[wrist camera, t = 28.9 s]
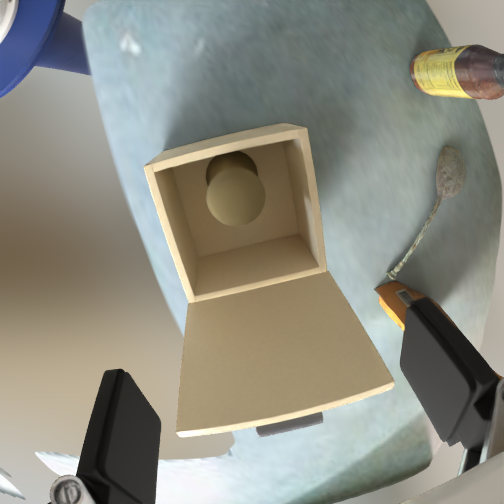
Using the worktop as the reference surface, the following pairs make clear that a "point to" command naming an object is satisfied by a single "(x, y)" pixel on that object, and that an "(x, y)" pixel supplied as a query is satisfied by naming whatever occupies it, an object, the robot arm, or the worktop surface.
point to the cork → (234, 189)
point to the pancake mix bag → (401, 302)
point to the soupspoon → (441, 191)
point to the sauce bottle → (460, 72)
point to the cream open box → (246, 236)
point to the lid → (274, 359)
